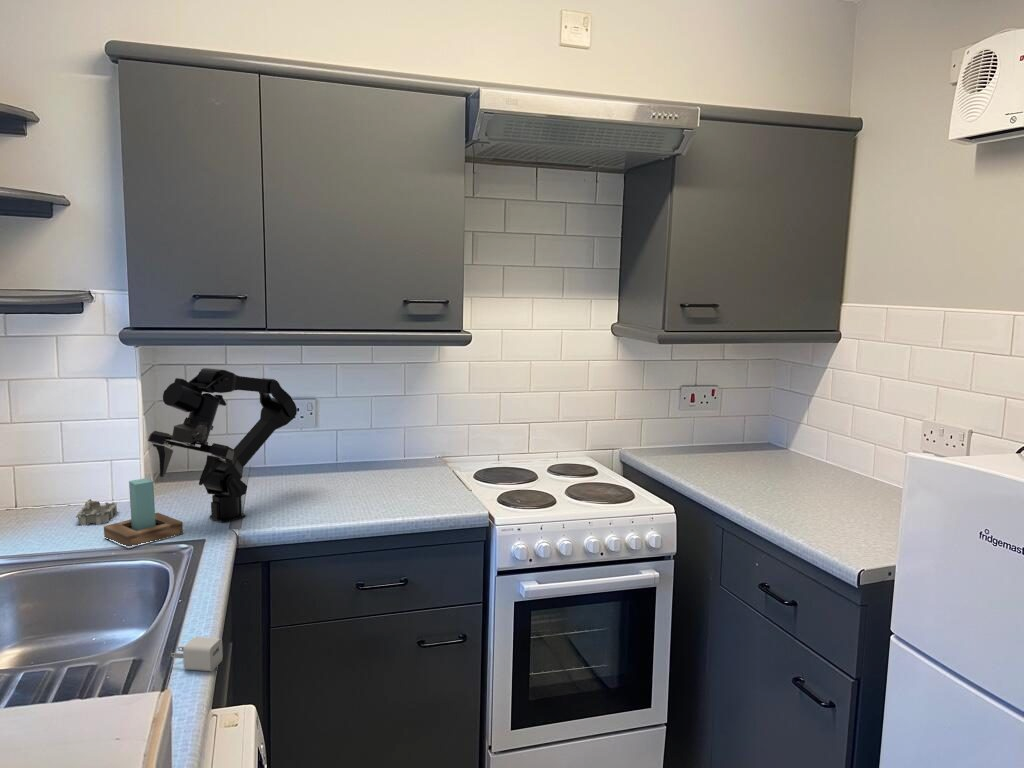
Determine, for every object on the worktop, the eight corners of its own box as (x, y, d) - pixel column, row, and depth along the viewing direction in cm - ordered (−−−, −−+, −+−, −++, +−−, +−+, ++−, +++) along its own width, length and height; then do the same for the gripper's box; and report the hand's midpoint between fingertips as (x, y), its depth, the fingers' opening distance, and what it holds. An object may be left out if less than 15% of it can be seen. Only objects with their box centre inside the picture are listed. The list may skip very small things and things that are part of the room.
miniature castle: (90, 513, 189) (89, 498, 189) (121, 512, 191) (120, 497, 190) (73, 527, 179) (71, 510, 178) (106, 525, 180) (105, 509, 180)
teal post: (149, 530, 176) (147, 477, 174) (156, 534, 173) (153, 481, 171) (132, 534, 173) (128, 481, 171) (138, 538, 170) (135, 484, 168)
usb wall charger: (210, 673, 115) (209, 649, 114) (168, 670, 115) (167, 646, 115) (222, 660, 119) (221, 636, 118) (182, 657, 119) (180, 634, 119)
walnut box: (158, 524, 181) (158, 512, 181) (183, 533, 175) (182, 521, 175) (104, 538, 171) (103, 526, 170) (128, 549, 165) (127, 536, 164)
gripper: (149, 402, 169) (127, 468, 165) (229, 418, 169) (208, 484, 165) (168, 412, 180) (147, 474, 176) (242, 428, 180) (223, 490, 176)
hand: (180, 481), depth 173 cm, fingers open, 9 cm apart
